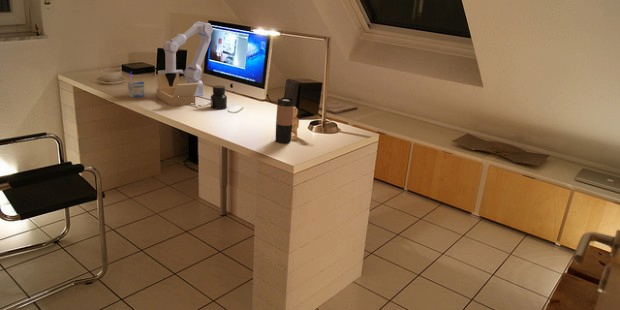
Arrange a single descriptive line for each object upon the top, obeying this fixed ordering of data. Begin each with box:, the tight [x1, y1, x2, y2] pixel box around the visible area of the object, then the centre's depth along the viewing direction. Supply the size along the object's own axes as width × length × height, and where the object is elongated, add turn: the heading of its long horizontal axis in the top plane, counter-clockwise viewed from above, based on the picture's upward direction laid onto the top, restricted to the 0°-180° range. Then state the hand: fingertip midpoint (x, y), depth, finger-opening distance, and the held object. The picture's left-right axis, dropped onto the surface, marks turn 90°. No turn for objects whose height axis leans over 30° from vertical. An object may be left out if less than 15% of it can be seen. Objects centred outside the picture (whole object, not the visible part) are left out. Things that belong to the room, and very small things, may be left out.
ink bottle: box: [210, 84, 228, 110], centre depth 270 cm, size 10×9×12 cm
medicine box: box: [127, 80, 145, 99], centre depth 278 cm, size 8×4×9 cm, turn 143°
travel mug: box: [275, 97, 295, 144], centre depth 222 cm, size 8×8×20 cm
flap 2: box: [173, 83, 199, 97], centre depth 265 cm, size 10×12×1 cm
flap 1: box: [157, 73, 180, 89], centre depth 282 cm, size 10×12×1 cm
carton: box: [156, 87, 196, 107], centre depth 278 cm, size 14×22×5 cm, turn 38°
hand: (170, 86), depth 281 cm, fingers closed, pressing on flap 1
